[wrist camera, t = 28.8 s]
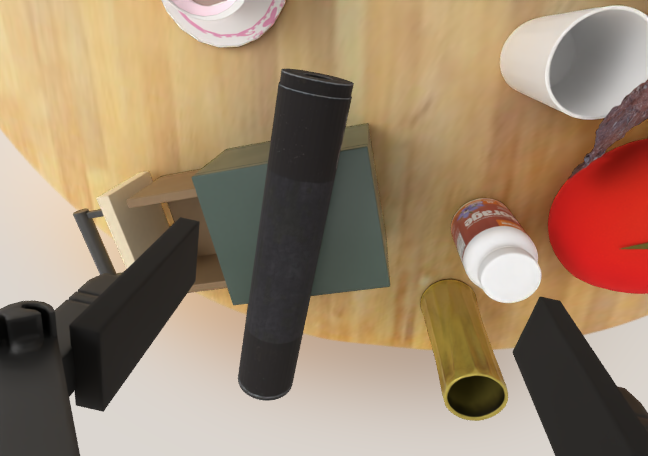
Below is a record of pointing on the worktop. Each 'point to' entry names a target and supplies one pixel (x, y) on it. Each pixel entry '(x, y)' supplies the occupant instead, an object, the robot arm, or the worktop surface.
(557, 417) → the robot arm
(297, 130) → the suppressor
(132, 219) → the drawer
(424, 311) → the vase
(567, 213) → the tomato
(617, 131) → the rock
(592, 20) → the mug
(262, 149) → the cabinet
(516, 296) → the pill bottle
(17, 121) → the worktop surface
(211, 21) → the teacup
